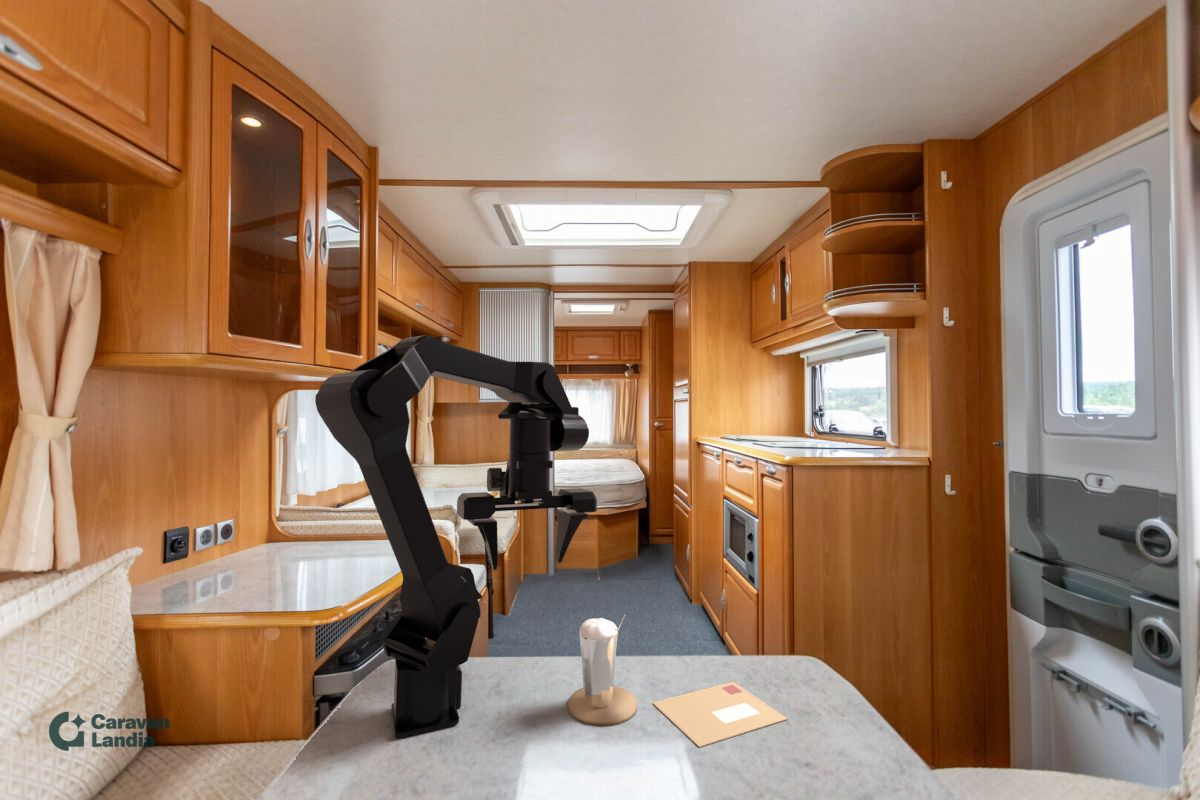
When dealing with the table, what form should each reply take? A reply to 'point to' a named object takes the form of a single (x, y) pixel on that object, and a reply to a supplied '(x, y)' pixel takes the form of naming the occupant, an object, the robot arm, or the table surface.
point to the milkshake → (598, 660)
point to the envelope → (718, 713)
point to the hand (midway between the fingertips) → (527, 565)
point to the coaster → (610, 715)
